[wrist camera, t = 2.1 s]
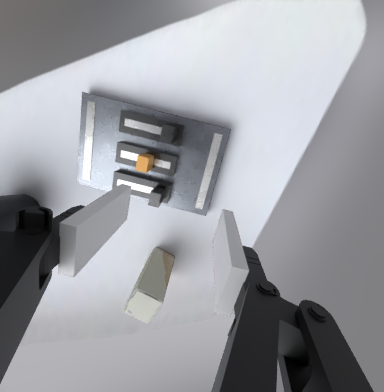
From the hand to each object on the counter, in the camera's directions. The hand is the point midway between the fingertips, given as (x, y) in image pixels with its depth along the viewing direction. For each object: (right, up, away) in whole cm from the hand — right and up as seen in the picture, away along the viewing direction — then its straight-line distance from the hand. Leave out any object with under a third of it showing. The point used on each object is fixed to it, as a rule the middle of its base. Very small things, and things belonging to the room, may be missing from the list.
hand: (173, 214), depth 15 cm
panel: (-5, +8, +18) cm, 20 cm away
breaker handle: (-5, +7, +15) cm, 17 cm away
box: (-5, -11, +24) cm, 27 cm away
